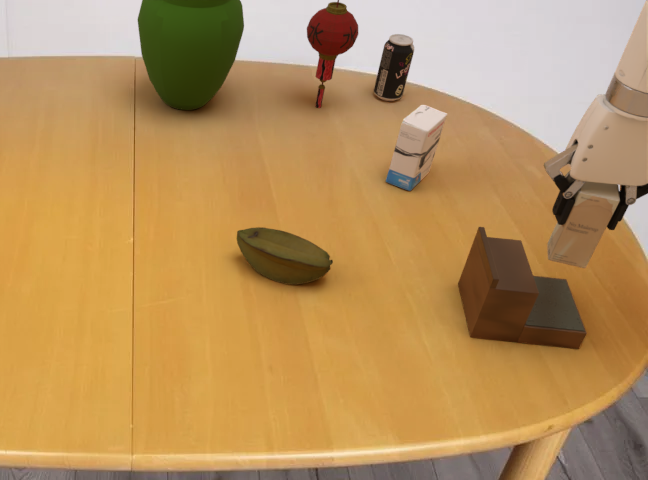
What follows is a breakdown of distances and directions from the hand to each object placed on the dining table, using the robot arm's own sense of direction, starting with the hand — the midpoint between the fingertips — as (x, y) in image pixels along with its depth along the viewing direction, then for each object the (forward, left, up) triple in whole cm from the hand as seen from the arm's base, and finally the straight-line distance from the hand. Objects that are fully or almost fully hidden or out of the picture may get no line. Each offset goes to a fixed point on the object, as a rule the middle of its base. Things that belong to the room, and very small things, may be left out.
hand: (583, 220), depth 115 cm
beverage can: (+16, -65, -17) cm, 69 cm away
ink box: (+15, -35, -17) cm, 42 cm away
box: (0, 0, -6) cm, 6 cm away
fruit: (+37, -5, -17) cm, 41 cm away
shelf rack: (+3, 0, -17) cm, 18 cm away
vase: (+56, -55, -17) cm, 81 cm away
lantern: (+30, -58, -17) cm, 68 cm away
